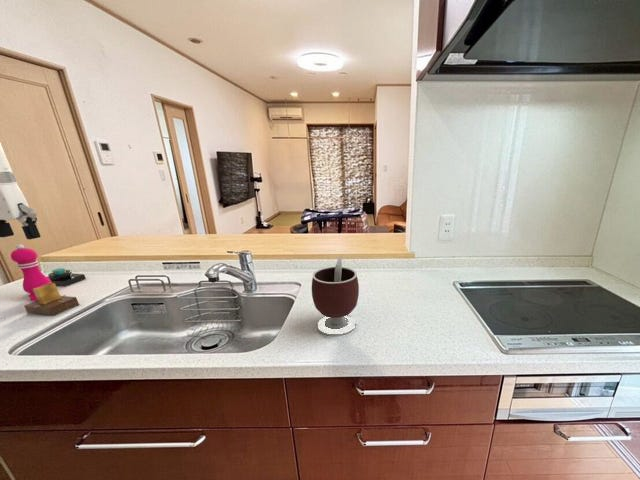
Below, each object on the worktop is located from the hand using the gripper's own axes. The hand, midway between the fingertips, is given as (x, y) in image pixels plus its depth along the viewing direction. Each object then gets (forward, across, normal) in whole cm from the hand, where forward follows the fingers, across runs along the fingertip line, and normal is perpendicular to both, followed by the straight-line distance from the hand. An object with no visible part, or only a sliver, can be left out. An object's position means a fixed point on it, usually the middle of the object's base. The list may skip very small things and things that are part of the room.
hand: (20, 237), depth 90 cm
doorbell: (+25, -21, +20) cm, 38 cm away
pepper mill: (+25, -13, +7) cm, 29 cm away
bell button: (+21, -21, +20) cm, 36 cm away
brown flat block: (+25, +1, 0) cm, 25 cm away
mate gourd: (+23, +98, +6) cm, 101 cm away
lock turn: (+22, +1, 0) cm, 22 cm away
